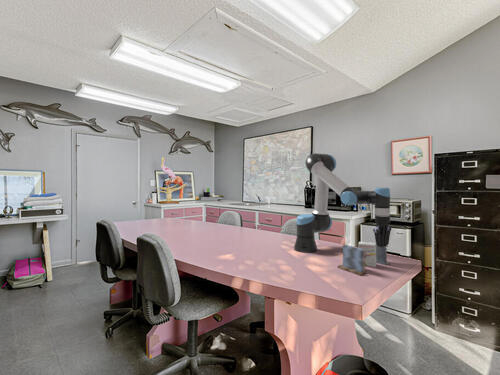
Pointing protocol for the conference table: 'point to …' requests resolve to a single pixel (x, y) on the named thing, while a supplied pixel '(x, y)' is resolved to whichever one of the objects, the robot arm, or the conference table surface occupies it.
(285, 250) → the conference table surface
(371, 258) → the ink box
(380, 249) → the bookend
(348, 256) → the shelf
